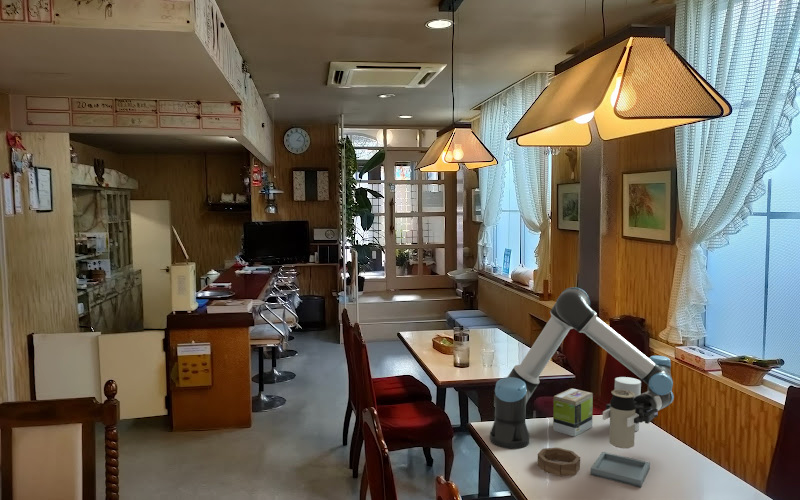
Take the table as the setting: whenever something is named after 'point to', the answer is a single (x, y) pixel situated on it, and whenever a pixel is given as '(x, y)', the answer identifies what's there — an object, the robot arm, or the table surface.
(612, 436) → the travel mug
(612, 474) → the tray
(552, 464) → the mug holder
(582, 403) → the tea box
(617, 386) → the container
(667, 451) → the table surface
